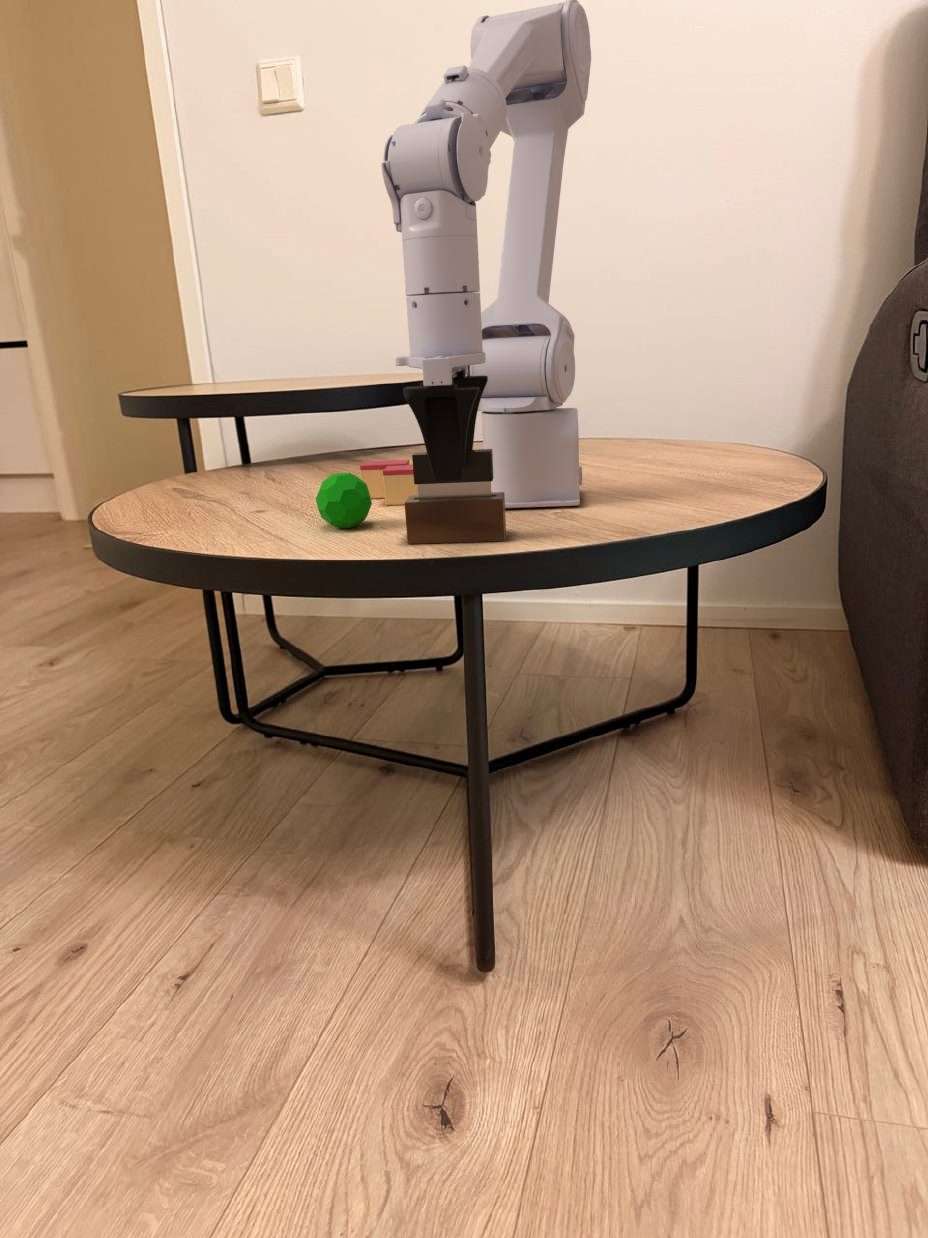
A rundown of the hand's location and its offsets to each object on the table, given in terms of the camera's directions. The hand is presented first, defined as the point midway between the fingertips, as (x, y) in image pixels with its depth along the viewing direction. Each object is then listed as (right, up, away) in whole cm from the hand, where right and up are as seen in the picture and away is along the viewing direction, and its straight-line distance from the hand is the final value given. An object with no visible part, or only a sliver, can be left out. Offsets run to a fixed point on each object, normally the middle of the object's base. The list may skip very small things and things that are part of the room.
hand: (453, 471), depth 75 cm
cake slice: (-7, +1, +23) cm, 24 cm away
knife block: (0, -5, +2) cm, 6 cm away
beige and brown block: (0, -5, +2) cm, 6 cm away
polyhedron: (-10, -4, +9) cm, 14 cm away
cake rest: (-4, 0, +19) cm, 19 cm away
